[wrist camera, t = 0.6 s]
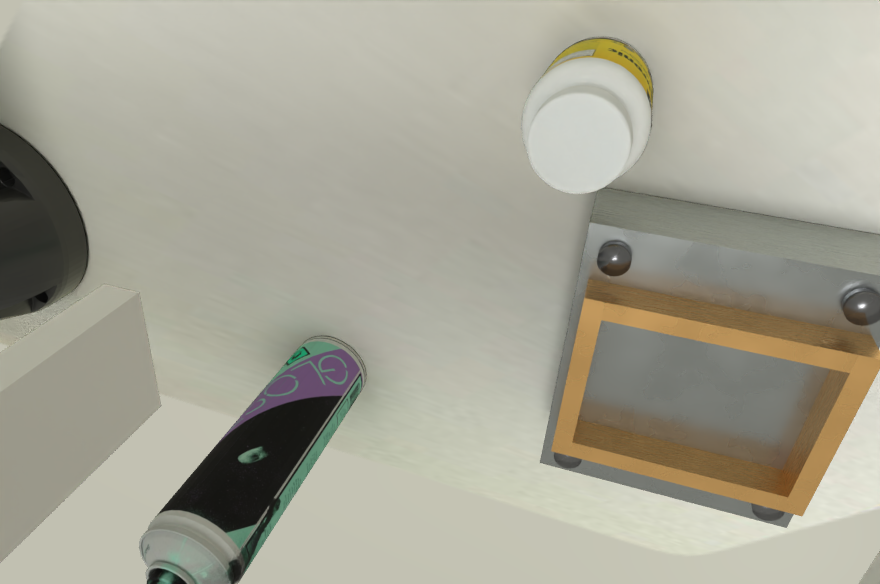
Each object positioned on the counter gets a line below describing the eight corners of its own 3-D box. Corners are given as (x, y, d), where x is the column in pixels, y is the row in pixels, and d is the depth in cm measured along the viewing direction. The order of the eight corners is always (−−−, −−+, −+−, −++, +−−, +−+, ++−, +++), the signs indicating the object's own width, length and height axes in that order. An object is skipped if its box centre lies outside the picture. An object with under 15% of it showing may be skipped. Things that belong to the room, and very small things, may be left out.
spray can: (348, 330, 46) (167, 568, 29) (377, 393, 48) (223, 650, 31) (285, 341, 48) (82, 568, 31) (315, 401, 50) (141, 644, 33)
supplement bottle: (669, 118, 33) (670, 184, 25) (568, 158, 35) (539, 231, 27) (631, 13, 31) (619, 48, 23) (527, 63, 34) (484, 110, 25)
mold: (551, 410, 44) (534, 486, 38) (598, 186, 36) (585, 239, 30) (774, 465, 41) (792, 556, 35) (881, 234, 33) (928, 304, 27)
